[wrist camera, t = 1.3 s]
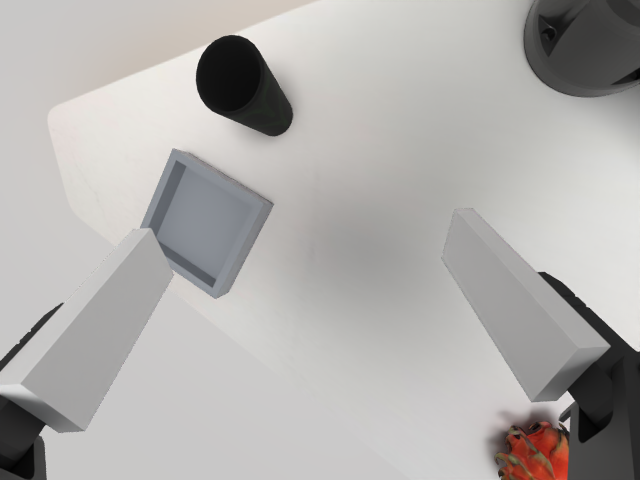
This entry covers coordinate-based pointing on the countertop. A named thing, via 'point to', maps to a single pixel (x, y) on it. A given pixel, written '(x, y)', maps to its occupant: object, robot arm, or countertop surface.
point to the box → (204, 222)
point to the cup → (242, 86)
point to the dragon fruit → (536, 454)
